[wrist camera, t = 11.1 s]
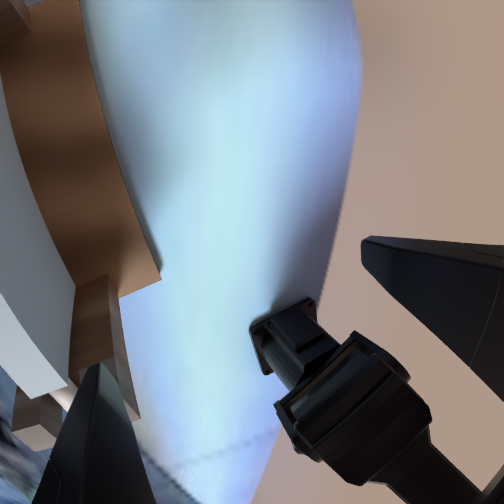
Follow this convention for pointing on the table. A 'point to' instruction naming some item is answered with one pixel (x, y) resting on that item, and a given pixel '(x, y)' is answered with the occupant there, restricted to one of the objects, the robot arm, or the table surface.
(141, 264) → the hinge frame
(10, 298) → the door
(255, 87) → the table surface
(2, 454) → the table surface
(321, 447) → the robot arm
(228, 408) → the table surface
